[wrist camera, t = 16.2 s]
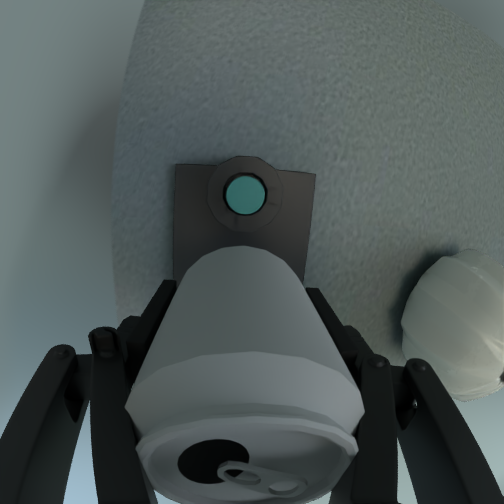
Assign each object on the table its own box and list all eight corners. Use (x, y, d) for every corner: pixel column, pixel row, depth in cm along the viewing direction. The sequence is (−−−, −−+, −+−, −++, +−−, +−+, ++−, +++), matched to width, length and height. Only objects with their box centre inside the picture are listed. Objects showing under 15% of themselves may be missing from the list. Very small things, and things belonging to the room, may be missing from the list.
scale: (177, 155, 21) (171, 153, 19) (314, 164, 22) (322, 164, 20) (177, 339, 25) (172, 352, 23) (291, 345, 26) (295, 358, 24)
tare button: (228, 174, 20) (227, 175, 18) (264, 177, 20) (266, 177, 19) (225, 210, 21) (225, 213, 19) (261, 212, 21) (263, 215, 19)
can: (201, 222, 15) (116, 351, 4) (321, 268, 17) (436, 415, 5) (165, 330, 17) (106, 494, 6) (271, 363, 18) (300, 525, 7)
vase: (454, 345, 28) (512, 404, 15) (371, 356, 27) (428, 444, 14) (486, 245, 25) (567, 284, 12) (405, 233, 24) (510, 284, 11)
